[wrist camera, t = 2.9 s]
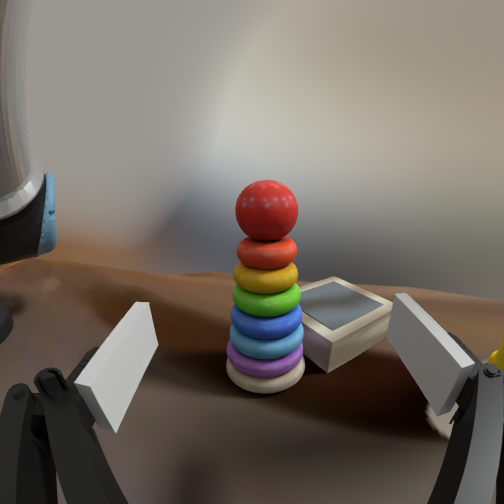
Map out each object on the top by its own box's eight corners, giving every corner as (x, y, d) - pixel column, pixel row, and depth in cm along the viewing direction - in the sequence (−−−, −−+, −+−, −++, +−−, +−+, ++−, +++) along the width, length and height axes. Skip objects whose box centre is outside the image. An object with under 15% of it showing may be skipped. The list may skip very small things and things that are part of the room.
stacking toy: (312, 392, 23) (329, 183, 18) (227, 400, 23) (208, 185, 17) (295, 345, 31) (301, 178, 25) (227, 350, 30) (215, 180, 25)
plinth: (266, 323, 36) (266, 296, 35) (331, 299, 41) (333, 275, 40) (327, 372, 26) (332, 341, 25) (392, 332, 31) (399, 304, 30)
